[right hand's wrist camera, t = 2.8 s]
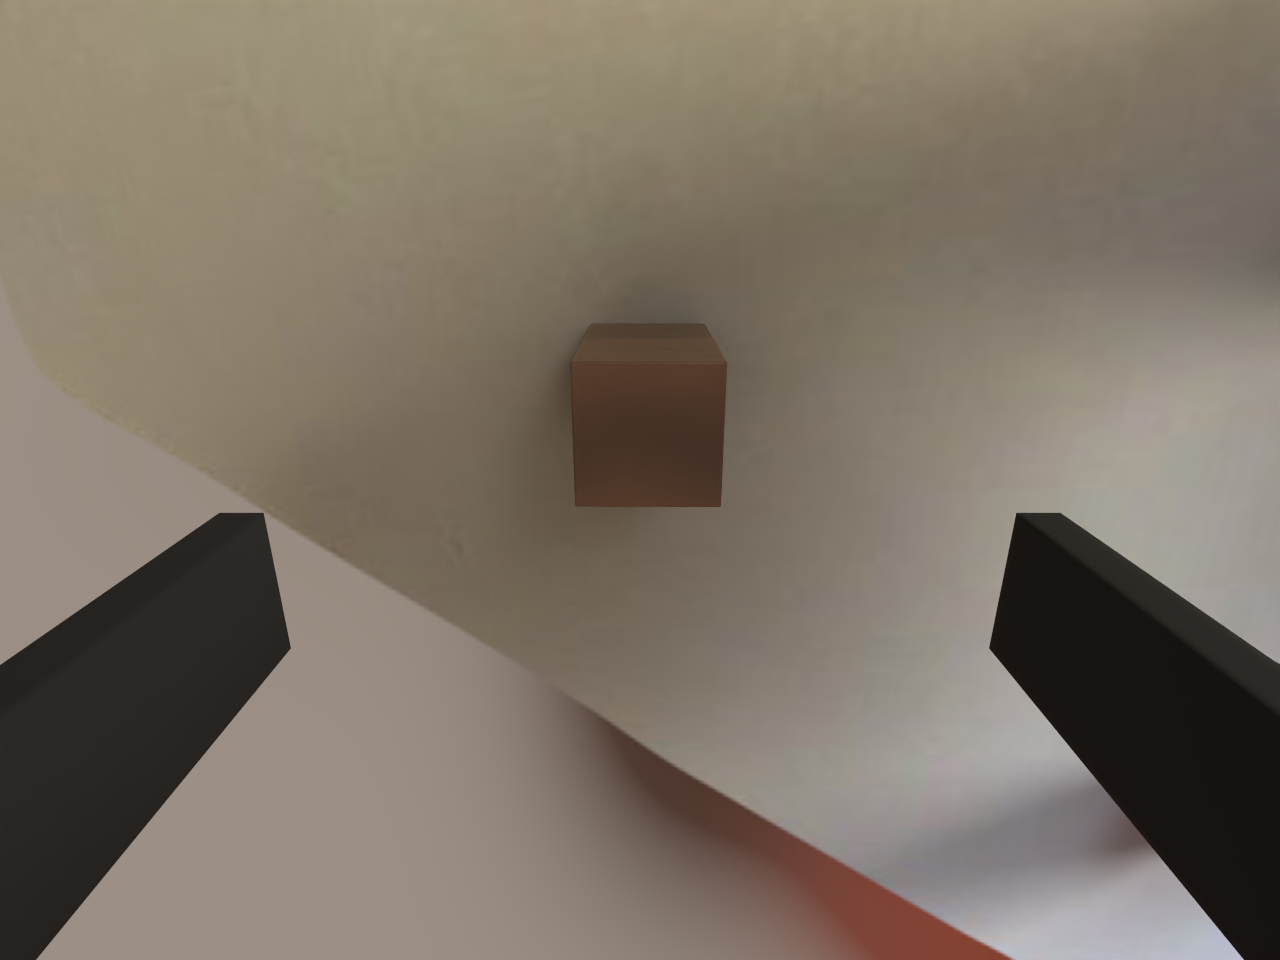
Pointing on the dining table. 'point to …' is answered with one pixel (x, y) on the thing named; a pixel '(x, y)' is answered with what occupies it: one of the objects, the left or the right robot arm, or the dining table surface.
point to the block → (648, 416)
